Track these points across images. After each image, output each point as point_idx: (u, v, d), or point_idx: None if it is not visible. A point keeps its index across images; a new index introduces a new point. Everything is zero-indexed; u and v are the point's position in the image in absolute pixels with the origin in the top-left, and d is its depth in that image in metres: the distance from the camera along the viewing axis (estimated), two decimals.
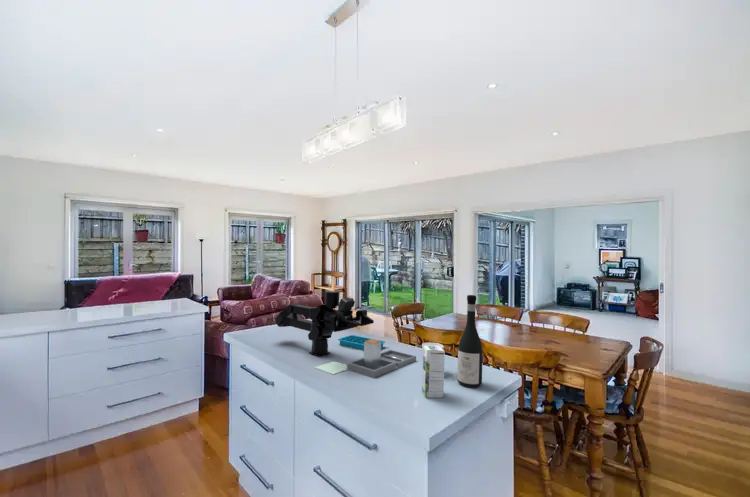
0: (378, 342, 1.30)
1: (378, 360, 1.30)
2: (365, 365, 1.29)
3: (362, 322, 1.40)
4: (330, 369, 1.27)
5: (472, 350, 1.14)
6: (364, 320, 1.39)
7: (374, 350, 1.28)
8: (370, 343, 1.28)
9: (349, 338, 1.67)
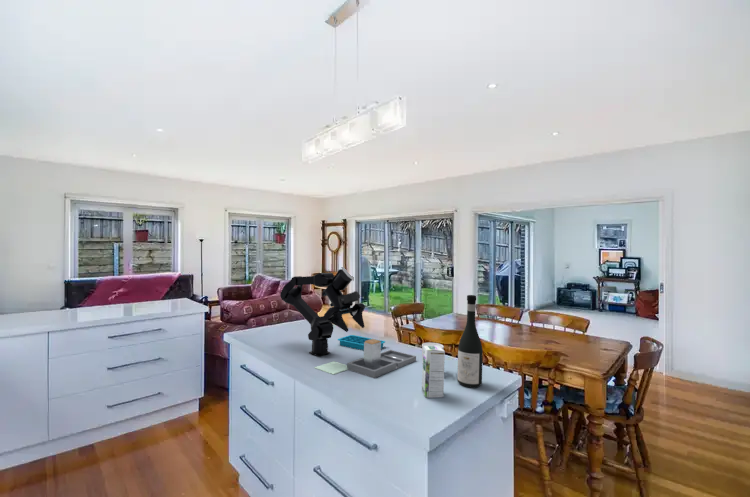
0: (378, 342, 1.30)
1: (378, 360, 1.30)
2: (365, 365, 1.29)
3: (355, 317, 1.42)
4: (330, 369, 1.27)
5: (472, 350, 1.14)
6: (357, 317, 1.41)
7: (374, 350, 1.28)
8: (370, 343, 1.28)
9: (349, 338, 1.67)
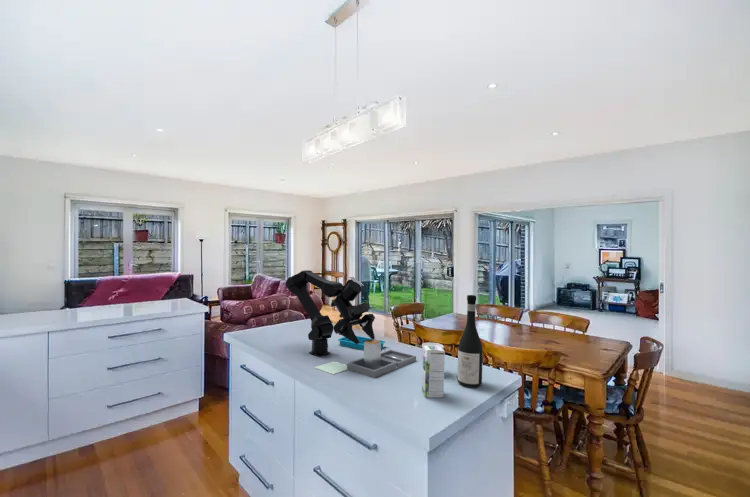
0: (378, 342, 1.30)
1: (378, 360, 1.30)
2: (365, 365, 1.29)
3: (365, 328, 1.39)
4: (330, 369, 1.27)
5: (472, 350, 1.14)
6: (367, 329, 1.38)
7: (374, 350, 1.28)
8: (370, 343, 1.28)
9: None
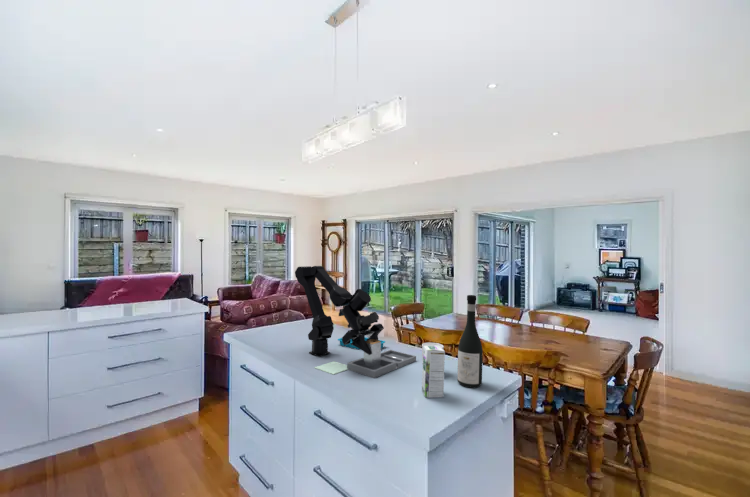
0: (378, 342, 1.30)
1: (378, 360, 1.30)
2: (365, 365, 1.29)
3: None
4: (330, 369, 1.27)
5: (472, 350, 1.14)
6: None
7: (374, 350, 1.28)
8: (370, 343, 1.28)
9: None
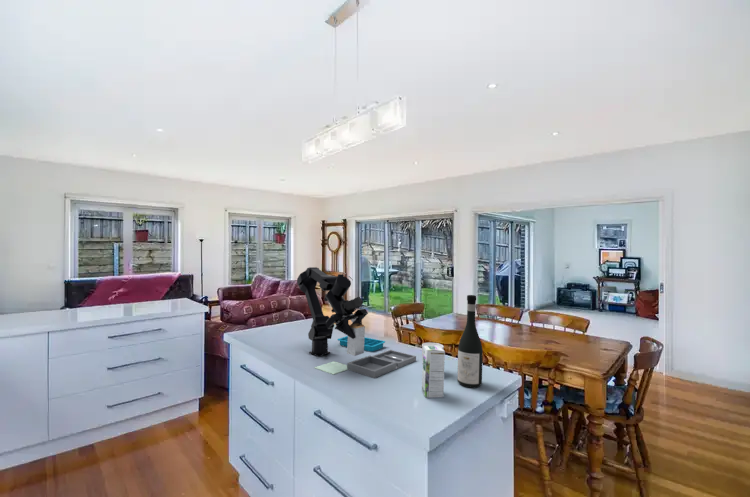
0: (362, 326, 1.30)
1: (362, 344, 1.30)
2: (349, 349, 1.29)
3: None
4: (330, 369, 1.27)
5: (472, 350, 1.14)
6: None
7: (358, 334, 1.28)
8: (354, 327, 1.28)
9: None
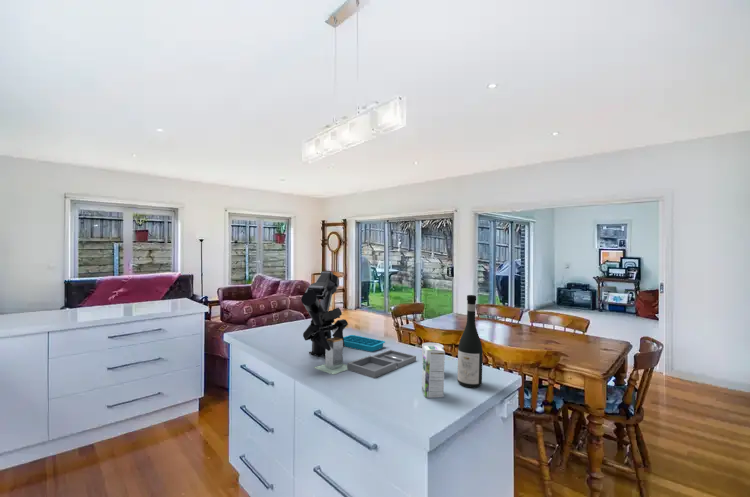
0: (340, 340, 1.30)
1: (340, 358, 1.30)
2: (327, 363, 1.29)
3: (335, 335, 1.35)
4: (330, 369, 1.27)
5: (472, 350, 1.14)
6: (337, 335, 1.34)
7: (336, 348, 1.28)
8: (331, 341, 1.28)
9: (349, 338, 1.67)
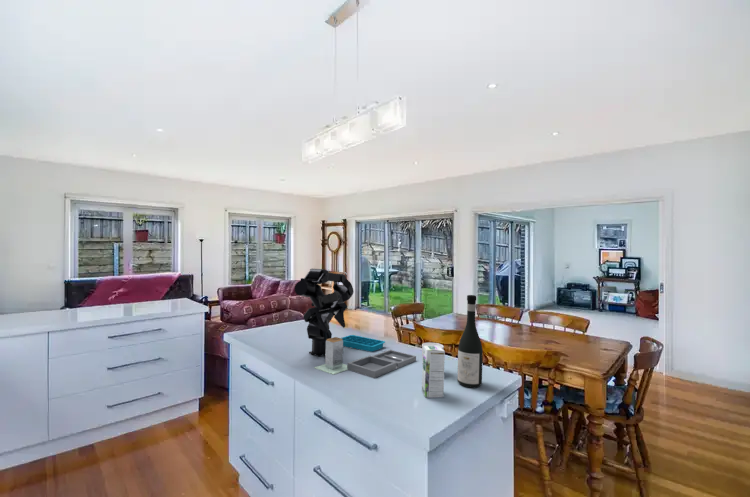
0: (340, 340, 1.30)
1: (340, 358, 1.30)
2: (327, 363, 1.29)
3: (336, 317, 1.43)
4: (330, 369, 1.27)
5: (472, 350, 1.14)
6: (338, 317, 1.42)
7: (336, 348, 1.28)
8: (331, 341, 1.28)
9: (349, 338, 1.67)
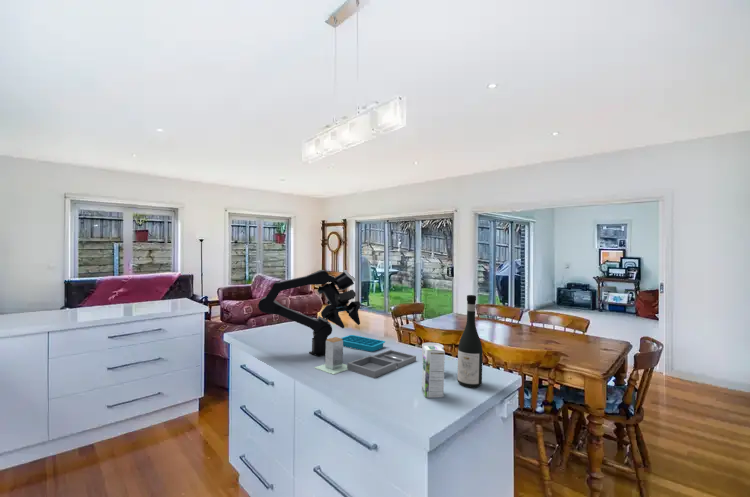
0: (340, 340, 1.30)
1: (340, 358, 1.30)
2: (327, 363, 1.29)
3: (351, 315, 1.48)
4: (330, 369, 1.27)
5: (472, 350, 1.14)
6: (353, 315, 1.47)
7: (336, 348, 1.28)
8: (331, 341, 1.28)
9: (349, 338, 1.67)
